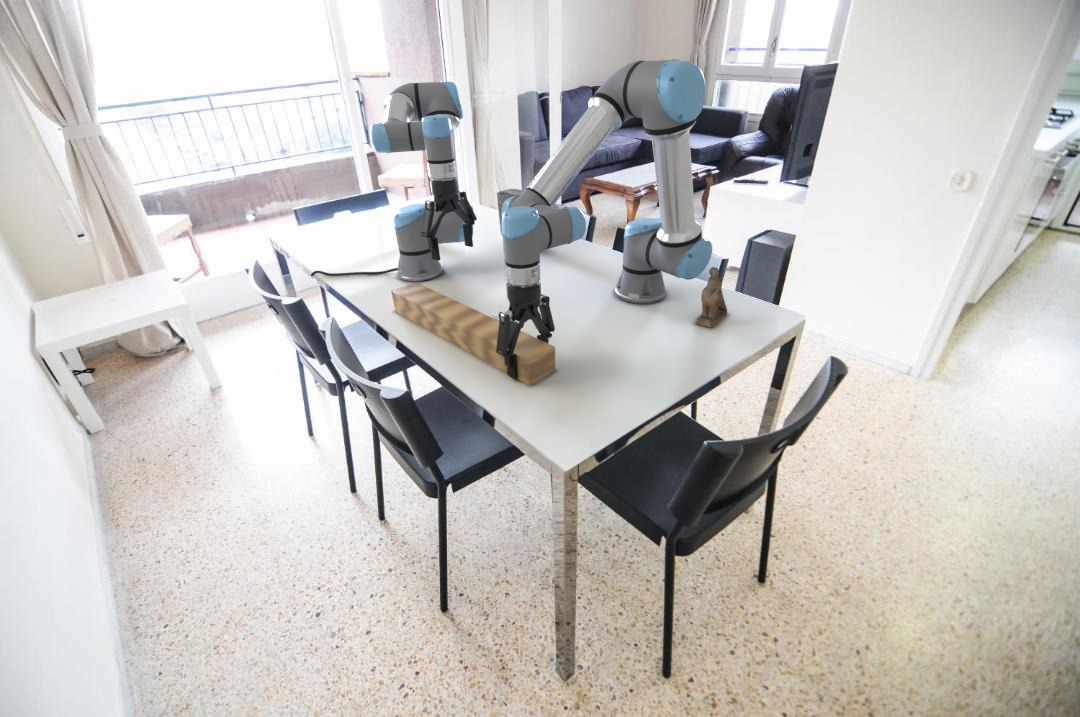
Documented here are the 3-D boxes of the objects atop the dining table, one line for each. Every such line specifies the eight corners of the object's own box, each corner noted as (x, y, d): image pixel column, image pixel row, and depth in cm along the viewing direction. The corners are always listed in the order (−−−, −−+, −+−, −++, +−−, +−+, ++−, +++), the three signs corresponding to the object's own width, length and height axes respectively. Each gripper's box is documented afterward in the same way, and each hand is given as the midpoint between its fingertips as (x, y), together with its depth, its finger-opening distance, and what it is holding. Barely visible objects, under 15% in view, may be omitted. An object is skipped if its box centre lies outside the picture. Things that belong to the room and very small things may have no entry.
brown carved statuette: (709, 335, 136) (713, 280, 124) (691, 329, 139) (693, 274, 128) (730, 313, 142) (736, 258, 130) (712, 307, 145) (716, 253, 133)
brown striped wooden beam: (395, 311, 151) (391, 290, 147) (419, 302, 156) (415, 282, 152) (529, 385, 114) (528, 360, 111) (555, 370, 119) (554, 346, 116)
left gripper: (418, 189, 126) (430, 268, 137) (484, 171, 143) (490, 242, 154) (398, 185, 130) (412, 262, 141) (465, 168, 147) (472, 238, 158)
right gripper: (496, 302, 99) (504, 393, 111) (570, 271, 112) (570, 355, 124) (472, 292, 104) (482, 381, 115) (546, 263, 117) (548, 345, 128)
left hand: (453, 252), depth 147 cm, fingers open, 13 cm apart
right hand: (528, 368), depth 120 cm, fingers open, 9 cm apart
